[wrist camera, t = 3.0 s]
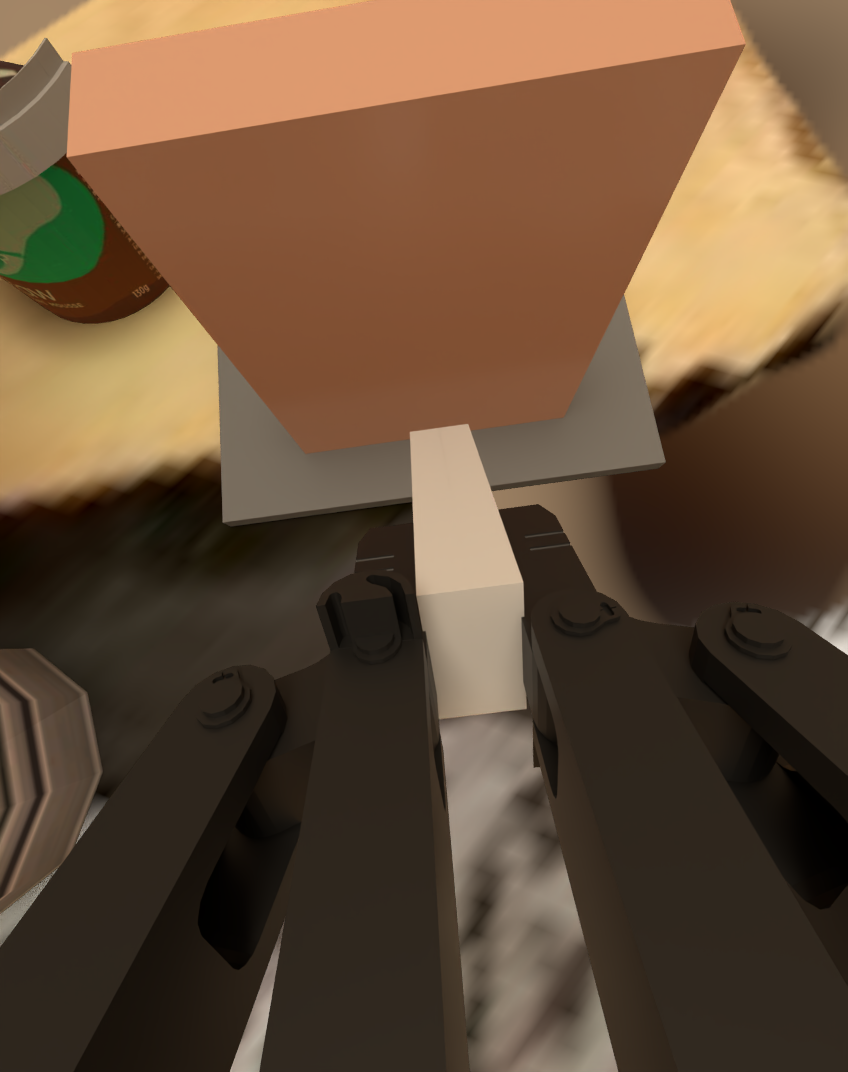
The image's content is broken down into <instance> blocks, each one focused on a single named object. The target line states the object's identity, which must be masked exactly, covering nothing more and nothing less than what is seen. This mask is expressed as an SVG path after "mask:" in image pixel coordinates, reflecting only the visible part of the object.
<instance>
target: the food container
mask: <svg viewBox="0 0 848 1072" xmlns="http://www.w3.org/2000/svg"><path fill="white" fill-rule="evenodd" d="M71 66H72V65H71V64H70V63H69V62H67V61H63V60H62V59H61V57H60V56H59V54H58V53H57V52H56V50H55V49H54V47H53V46H52V45H51V43H50V42H49V40H48V39H47V38H44V40H43V41H42V43H41V44H40V46H39V47H38V49H37V50H36V52H35V53H34V54H33V56H32V57H31V58H30V59H29V61H28V62H27V63H26V64H25V65H19V64H14V63H9V62H4V61H0V277H2V278H3V279H4V280H6V281H7V282H9V283H10V284H12V285H13V286H14V287H16V288H17V289H19V290H20V291H21V292H23V293H24V294H26V295H27V296H29V297H30V298H31V299H33V300H34V301H36V302H37V303H39V304H40V305H41V306H43V307H44V308H46V309H47V310H49V311H51V312H52V313H54V314H55V315H57V316H59V317H60V318H63V319H66V320H69V321H72V322H78V323H84V324H93V323H104V322H110V321H114V320H117V319H121V318H124V317H126V316H129V315H131V314H133V313H135V312H137V311H139V310H141V309H142V308H144V307H145V306H147V305H149V304H150V303H151V302H153V301H154V300H155V299H156V298H158V297H159V296H160V295H161V294H162V293H163V292H164V291H165V290H166V289H167V288H168V287H169V286H170V285H169V284H168V282H167V281H166V280H165V279H164V277H163V276H162V275H161V274H160V273H159V271H158V270H157V269H156V268H155V266H154V265H153V264H152V263H151V261H150V260H149V259H148V258H147V256H146V255H145V254H144V253H143V251H142V250H141V249H140V248H139V246H138V245H137V244H136V243H135V241H134V240H133V239H132V238H131V237H130V235H129V234H128V233H127V232H126V230H125V229H124V228H123V227H122V225H121V224H120V223H119V222H118V220H117V219H116V218H115V217H114V215H113V214H112V213H111V212H110V210H109V209H108V208H107V207H106V205H105V204H104V203H103V202H102V200H101V199H100V198H99V197H98V196H97V194H96V193H95V192H94V191H93V189H92V188H91V187H90V186H89V184H88V183H87V182H86V181H85V179H84V178H83V177H82V176H81V174H80V173H79V172H78V171H77V169H76V168H75V167H74V166H73V164H72V163H71V162H70V161H69V159H68V158H67V140H68V122H69V103H70V85H71Z"/></svg>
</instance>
